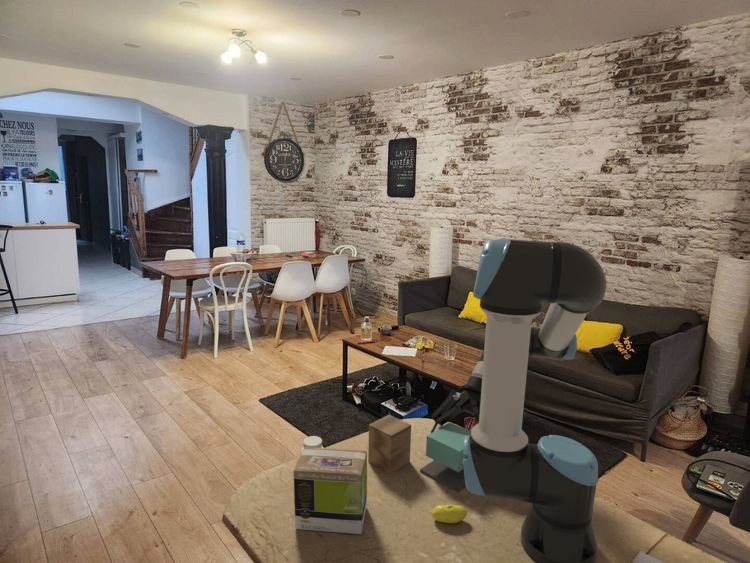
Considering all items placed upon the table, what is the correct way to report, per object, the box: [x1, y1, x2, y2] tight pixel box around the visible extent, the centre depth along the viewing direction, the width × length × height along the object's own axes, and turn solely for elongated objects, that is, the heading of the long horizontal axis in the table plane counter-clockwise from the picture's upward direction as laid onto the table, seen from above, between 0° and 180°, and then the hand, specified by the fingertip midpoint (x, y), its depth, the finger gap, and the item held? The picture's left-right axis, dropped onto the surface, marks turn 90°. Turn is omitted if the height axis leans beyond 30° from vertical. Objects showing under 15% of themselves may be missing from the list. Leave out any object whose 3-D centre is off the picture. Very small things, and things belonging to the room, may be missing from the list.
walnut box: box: [367, 414, 412, 475], centre depth 133 cm, size 8×8×11 cm
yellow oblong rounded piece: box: [431, 504, 468, 524], centre depth 111 cm, size 4×8×4 cm, turn 87°
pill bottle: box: [299, 435, 324, 457], centre depth 124 cm, size 6×6×11 cm
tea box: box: [293, 447, 368, 535], centre depth 110 cm, size 15×10×15 cm
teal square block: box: [425, 421, 471, 472], centre depth 129 cm, size 10×10×6 cm
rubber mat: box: [419, 459, 466, 493], centre depth 130 cm, size 12×12×1 cm
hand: (446, 456), depth 127 cm, fingers closed on teal square block, 10 cm apart
